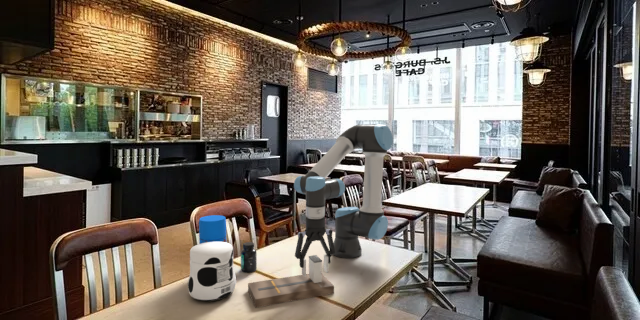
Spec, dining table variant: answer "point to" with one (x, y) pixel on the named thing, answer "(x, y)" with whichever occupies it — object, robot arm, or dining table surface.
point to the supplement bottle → (248, 258)
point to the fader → (315, 268)
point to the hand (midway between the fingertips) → (315, 273)
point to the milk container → (211, 271)
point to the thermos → (212, 229)
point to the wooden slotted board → (287, 289)
